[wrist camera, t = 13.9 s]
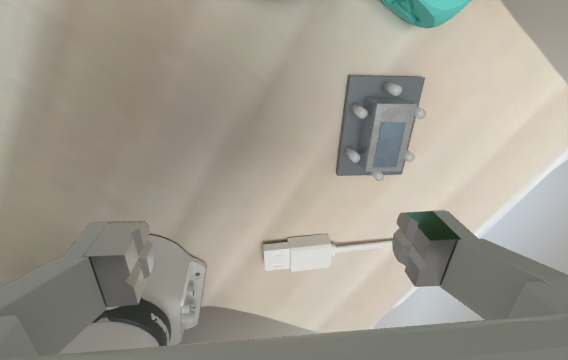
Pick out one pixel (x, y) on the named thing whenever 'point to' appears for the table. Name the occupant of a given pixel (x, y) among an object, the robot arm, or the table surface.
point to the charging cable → (308, 252)
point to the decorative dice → (426, 10)
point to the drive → (385, 133)
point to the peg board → (355, 113)
